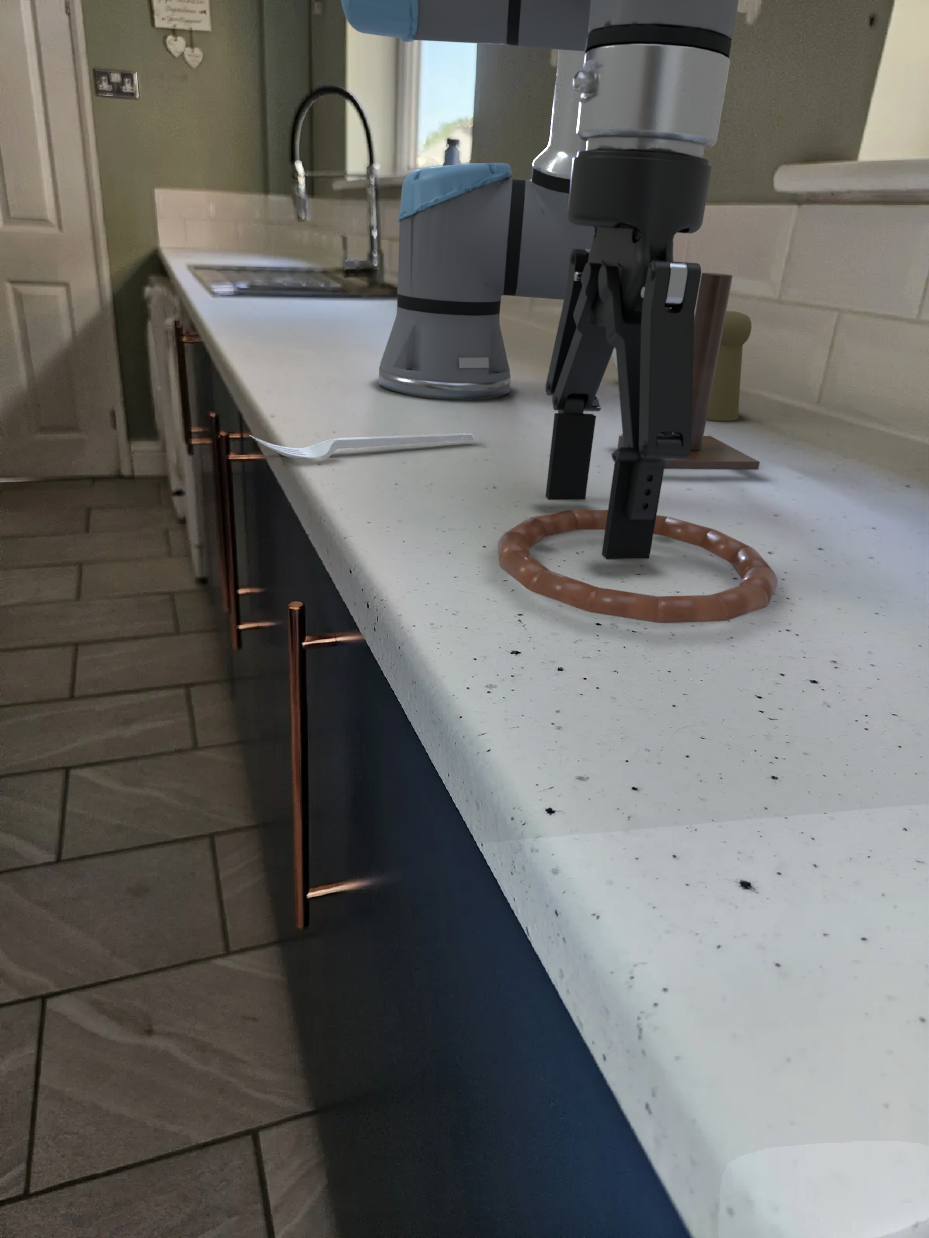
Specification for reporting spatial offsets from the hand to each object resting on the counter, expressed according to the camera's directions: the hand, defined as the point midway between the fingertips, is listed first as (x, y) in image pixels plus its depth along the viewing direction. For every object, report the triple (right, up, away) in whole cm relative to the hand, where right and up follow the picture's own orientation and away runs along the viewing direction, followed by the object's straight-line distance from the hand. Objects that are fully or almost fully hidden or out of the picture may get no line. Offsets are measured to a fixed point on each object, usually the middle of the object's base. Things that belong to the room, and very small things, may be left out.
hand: (591, 534), depth 57 cm
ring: (+1, -2, -6) cm, 7 cm away
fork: (-16, +8, +16) cm, 24 cm away
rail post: (+11, +8, +19) cm, 24 cm away
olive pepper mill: (+19, +17, +41) cm, 48 cm away
